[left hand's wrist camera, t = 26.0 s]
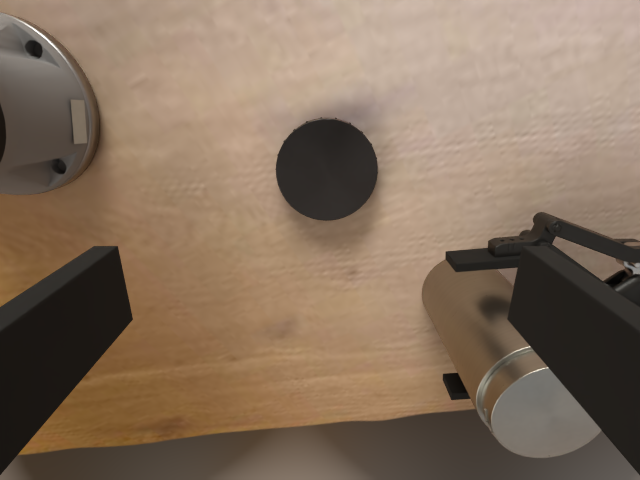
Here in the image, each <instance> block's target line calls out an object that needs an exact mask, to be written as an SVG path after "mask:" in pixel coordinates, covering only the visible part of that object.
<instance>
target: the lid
mask: <svg viewBox="0 0 640 480" xmlns="http://www.w3.org/2000/svg"><path fill="white" fill-rule="evenodd" d="M377 173H378V172H377V158H376V155H375V152H374V150H373V147H372V144H371V143H370V142H369V140H368V139H367V138H366V137H365V135H364V134H363V132H362V131H359V130H358V129H357V128H355V127H354V126H353V125H351V123H347V122H345V121H342V120H339V119H337V118H322V117H321V118H320V119H314V120H311V121H309V122H308V121H306V123H304V124H302V125H301V126H300V127H298V128H297V129H294V130H293V132H292V133H291V134H290V135H289V137H288V138H287V139H286V140H285V141H284V143H283V145H282V147H281V149H280V151H279V154H278V158H277V163H276V176H277V182H278V185H279V188H280V191H281V193H282V195H283V196H284V198H285V199H286V201H287V202H288V203H289V204H290V205H291V206H292V207H293V208H294V209H295V210H296V211H298V212H299V213H301V214H303V215H305V216H307V217H310V218H313V219H317V220H336V219H340V218H344V217H346V216H348V215H350V214H352V213H354V212H355V211H357V210H358V209H359V208H360V207H361V206H362V205H363V204H364V203H365V202H366V201H367V200H368V198H369V197H370V195H371V193H372V191H373V189H374V187H375V183H376V180H377Z"/></svg>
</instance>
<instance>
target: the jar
mask: <svg viewBox="0 0 640 480" xmlns="http://www.w3.org/2000/svg"><path fill="white" fill-rule="evenodd" d="M513 289H514V286H513V285H512V284H511V283H510V282H509V281H508V280H507V279H506V278H505V277H504V276H503V275H502V274H501V273H500V272H499V271H497V270H496V269H491V270H479V271H467V272H455V271H454V269H453V268H452V267H451V266H450V264H449V263H448V262H447V260H444V261H442V262H441V263H439V264H438V265H437V266H435V267H434V268H433V269H432V270H431V272H430V273H429V274H428V276H427V277H426V279H425V282H424V284H423V288H422V299H423V303H424V306H425V308H426V310H427V312H428V314H429V316H430V318H431V320H432V322H433V324H434V326H435V328H436V330H437V332H438V334H439V336H440V338H441V340H442V342H443V344H444V346H445V348H446V350H447V352H448V354H449V356H450V358H451V360H452V362H453V364H454V366H455V368H456V370H457V372H458V374H459V376H460V378H461V380H462V382H463V384H464V386H465V388H466V390H467V392H468V394H469V396H470V398H471V400H472V402H473V404H474V406H475V408H476V410H477V412H478V414H479V416H480V418H481V419H482V421H483V422H484V423H485V424H486V426H488V427H489V429H490V432H491V433H492V434H493V435H494V436H495V437H496V439H497V440H498V441H499V443H500V444H501V445H502V446H504V447H505V448H506V449H508V450H509V451H511V452H513V453H516V454H518V455H521V456H526V457H532V458H547V457H555V456H560V455H563V454H566V453H569V452H572V451H574V450H576V449H578V448H580V447H582V446H584V445H585V444H587V443H588V442H590V441H591V440H592V439H594V438H595V437H596V436H597V435H598V434H599V433H600V432H601V429H600V428H599V427H598V425H597V424H596V423H595V422H594V421H593V419H592V418H591V417H590V416H589V415H588V414H587V412H586V411H585V410H584V409H583V408H582V407H581V405H580V404H579V403H578V402H577V401H576V400H575V398H574V397H573V396H572V395H571V394H570V392H569V391H568V390H567V389H566V388H565V387H564V385H563V384H562V383H561V382H560V381H559V380H558V378H557V377H556V376H555V375H554V374H553V373H552V371H551V370H550V369H549V368H548V367H547V365H546V364H545V363H544V362H543V361H542V360H541V358H540V357H539V356H538V355H537V354H536V353H535V351H534V350H533V349H532V348H531V347H530V346H529V344H528V343H527V342H526V341H525V340H524V338H523V337H522V336H521V335H520V334H519V333H518V331H517V330H516V329H515V328H514V327H513V326H512V324H511V323H510V322H509V321H508V320H507V318H508V313H509V308H510V303H511V299H512V294H513Z"/></svg>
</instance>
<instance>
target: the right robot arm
mask: <svg viewBox="0 0 640 480" xmlns="http://www.w3.org/2000/svg"><path fill="white" fill-rule="evenodd" d="M533 222H534V226H533V228H532V230H531V231H529V230H524V231H522V232H521V233H520V235H519V236H514V237H502V238H494V239H491V240H489V241H488V248H483V249H471V250H459V251H447V252H446V260H447V262H448V263H449V264H450V266H451V267H452V268H453V269H454V271H455V272H467V271H479V270H491V269H503V268H515V267H518V265H519V260H520V255H521V250H522V246H546V247H548V248H549V249H551V250H552V251H554V252H556V253H557V254H559V255H560V256H562V257H563V258H565V259H566V260H568V261H569V262H571V263H572V264H574V265H576V266H577V267H579V268H580V269H582V270H583V271H585V272H586V273H588V274H589V275H591V276H593V277H594V278H596V279H597V280H599V281H600V282H602V283H603V284H605V285H606V286H608V287H609V288H611V289H613V290H614V291H616V292H617V293H619V294H620V295H622V296H623V297H625V298H626V299H628V300H629V301H631V302H633V303H634V304H636V305H637V306H639V307H640V241H638V240H635V239H612V238H610V237H607V236H604V235H602V234H599V233H597V232H594V231H591V230H589V229H586V228H583V227H581V226H578V225H576V224H573V223H570V222H568V221H565V220H562V219H560V218H557V217H554V216H552V215H549V214H547V213H544V212H540V213H537V214H536V215H535V216H534V218H533ZM556 236H558V237H560V238H563V239H566V240H568V241H571V242H574V243H576V244H579V245H582V246H584V247H587V248H590V249H593V250H595V251H598V252H601V253H603V254H606V255H609V256H611V257H614V258H616V261H617V262H618V263H619V264H621V265H623V266H625V269H624V270H621V271H619V272H617V273H615V274H614V275H612V276H611V277H609V278H607V279H606V280H604V281H602V280H600V279H599V278H598V277H596V276H595V275H593V274H592V273H591V272H589V271H588V270H587V269H585V268H584V267H582V266H581V265H580V264H578V263H577V262H576V261H574V260H573V259H571V258H570V257H569V256H567V255H566V254H565V253H563V252H562V251H560V250H559V249H558V248H556V247H555V246H554V245H552V243H553V241H554V239H555V237H556ZM443 381H444V384H445V386H446V388H447V391H448V393H449V395H450V398H451V400H458V399H471V398H470V396H469V394H468V392H467V390H466V388H465V386H464V384H463V382H462V380H461V378H460V376H459V374H458V373H449V374H443Z"/></svg>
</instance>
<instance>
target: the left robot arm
mask: <svg viewBox="0 0 640 480" xmlns="http://www.w3.org/2000/svg"><path fill="white" fill-rule="evenodd" d="M99 130H100V125H99V113H98V107H97V103H96V99H95V96H94V93H93V91H92V88H91V85H90V83H89V81H88V79H87V77H86V75H85V74H84V72H83V70H82V69H81V67H80V66H79V64H78V63H77V62H76V60H75V59H74V58H73V56H72V55H71V54H70V53H69V52H68V51H67V50H66V49H65V48H64V46H63V45H62V44H60V43H59V42H58V41H57V40H56V39H55V38H54V37H52V36H51V35H50V34H48V33H47V32H46V31H44V30H42V29H41V28H39V27H38V26H36V25H34V24H32V23H30V22H28V21H26V20H23V19H21V18H18V17H15V16H12V15H8V14H5V13H1V12H0V193H1V194H12V195H27V194H38V193H43V192H47V191H50V190H53V189H56V188H59V187H62V186H64V185H66V184H68V183H70V182H72V181H73V180H75V179H76V178H77V177H78V176H80V175H81V174H82V173H83V172H84V170H85V169H86V168H87V167H88V165H89V164H90V162H91V160H92V158H93V156H94V154H95V151H96V148H97V145H98V139H99ZM132 320H133V318H132V313H131V308H130V303H129V299H128V294H127V289H126V284H125V279H124V274H123V269H122V265H121V260H120V255H119V250H118V246H94V247H92V248H91V249H89V250H88V251H86V252H84V253H83V254H81V255H80V256H78V257H77V258H75V259H74V260H72V261H71V262H69V263H68V264H66V265H64V266H63V267H61V268H60V269H58V270H57V271H55V272H54V273H52V274H51V275H49V276H47V277H46V278H44V279H43V280H41V281H40V282H38V283H37V284H35V285H34V286H32V287H31V288H29V289H27V290H26V291H24V292H23V293H21V294H20V295H18V296H17V297H15V298H14V299H12V300H11V301H9V302H7V303H6V304H4V305H3V306H1V307H0V475H1V473H2V472H3V471H4V470H5V469H6V468H7V466H8V465H9V464H10V463H11V462H12V461H13V459H14V458H15V457H16V456H17V455H18V454H19V452H20V451H21V450H22V449H23V448H24V446H25V445H26V444H27V443H28V442H29V441H30V439H31V438H32V437H33V436H34V435H35V434H36V432H37V431H38V430H39V429H40V428H41V427H42V425H43V424H44V423H45V422H46V421H47V419H48V418H49V417H50V416H51V415H52V414H53V412H54V411H55V410H56V409H57V408H58V407H59V405H60V404H61V403H62V402H63V401H64V400H65V398H66V397H67V396H68V395H69V394H70V392H71V391H72V390H73V389H74V388H75V387H76V385H77V384H78V383H79V382H80V381H81V380H82V378H83V377H84V376H85V375H86V374H87V373H88V371H89V370H90V369H91V368H92V367H93V365H94V364H95V363H96V362H97V361H98V360H99V358H100V357H101V356H102V355H103V354H104V353H105V351H106V350H107V349H108V348H109V347H110V346H111V344H112V343H113V342H114V341H115V340H116V338H117V337H118V336H119V335H120V334H121V333H122V331H123V330H124V329H125V328H126V327H127V326H128V324H129V323H130V322H131V321H132ZM507 320H508V321H509V322H510V323H511V324H512V326H513V327H514V328H515V329H516V330H517V331H518V333H519V334H520V335H521V336H522V337H523V338H524V340H525V341H526V342H527V343H528V344H529V346H530V347H531V348H532V349H533V350H534V351H535V353H536V354H537V355H538V356H539V357H540V358H541V360H542V361H543V362H544V363H545V364H546V365H547V367H548V368H549V369H550V370H551V371H552V373H553V374H554V375H555V376H556V377H557V378H558V380H559V381H560V382H561V383H562V384H563V385H564V387H565V388H566V389H567V390H568V391H569V392H570V394H571V395H572V396H573V397H574V398H575V400H576V401H577V402H578V403H579V404H580V405H581V407H582V408H583V409H584V410H585V411H586V412H587V414H588V415H589V416H590V417H591V418H592V419H593V421H594V422H595V423H596V424H597V425H598V427H599V428H600V429H601V430H602V431H603V432H604V434H605V435H606V436H607V437H608V438H609V439H610V441H611V442H612V443H613V444H614V445H615V446H616V448H617V449H618V450H619V451H620V452H621V454H622V455H623V456H624V457H625V458H626V459H627V461H628V462H629V463H630V464H631V465H632V466H633V468H634V469H635V470H636V471H637V472H638V473H639V475H640V307H639V306H637V305H636V304H634V303H633V302H631V301H629V300H628V299H626V298H625V297H623V296H622V295H620V294H619V293H617V292H616V291H614V290H613V289H611V288H609V287H608V286H606V285H605V284H603V283H602V282H600V281H599V280H597V279H596V278H594V277H593V276H591V275H589V274H588V273H586V272H585V271H583V270H582V269H580V268H579V267H577V266H576V265H574V264H572V263H571V262H569V261H568V260H566V259H565V258H563V257H562V256H560V255H559V254H557V253H556V252H554V251H552V250H551V249H549V248H548V247H546V246H522V250H521V255H520V260H519V265H518V269H517V274H516V279H515V284H514V289H513V294H512V299H511V303H510V308H509V313H508V318H507Z"/></svg>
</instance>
